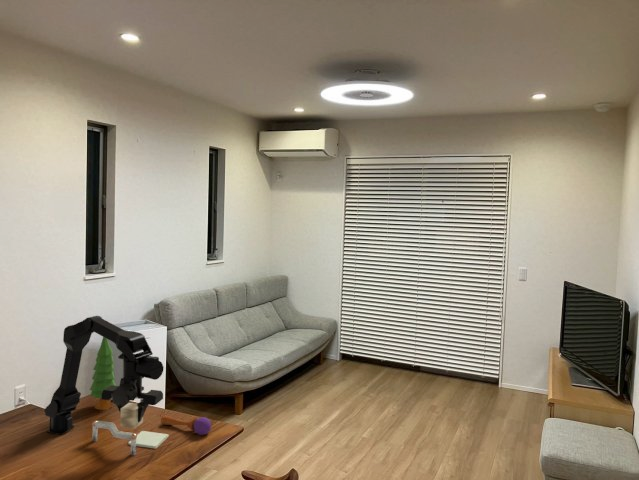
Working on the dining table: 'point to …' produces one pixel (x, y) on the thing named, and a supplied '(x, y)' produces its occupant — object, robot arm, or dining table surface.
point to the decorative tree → (103, 374)
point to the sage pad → (149, 439)
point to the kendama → (190, 424)
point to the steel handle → (114, 433)
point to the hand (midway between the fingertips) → (131, 420)
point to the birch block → (130, 416)
